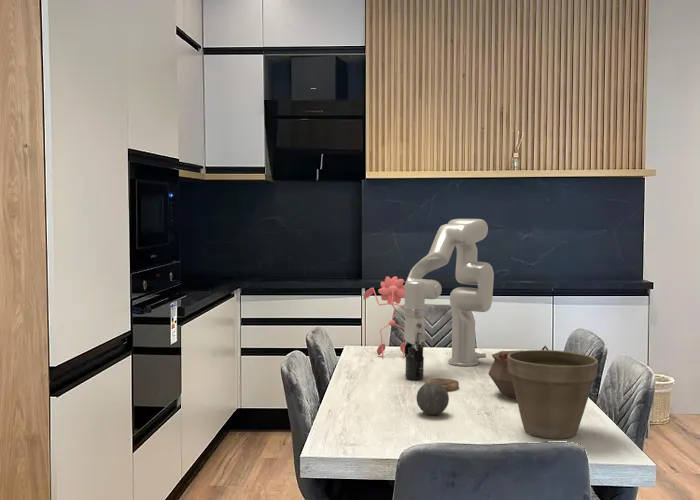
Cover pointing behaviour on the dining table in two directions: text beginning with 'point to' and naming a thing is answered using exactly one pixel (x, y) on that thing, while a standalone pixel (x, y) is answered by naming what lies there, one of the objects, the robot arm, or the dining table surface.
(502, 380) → the brown faceted vessel
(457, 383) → the stand
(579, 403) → the plant pot
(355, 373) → the dining table surface
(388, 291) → the figurine
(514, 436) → the dining table surface
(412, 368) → the supplement bottle
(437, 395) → the decorative ball
